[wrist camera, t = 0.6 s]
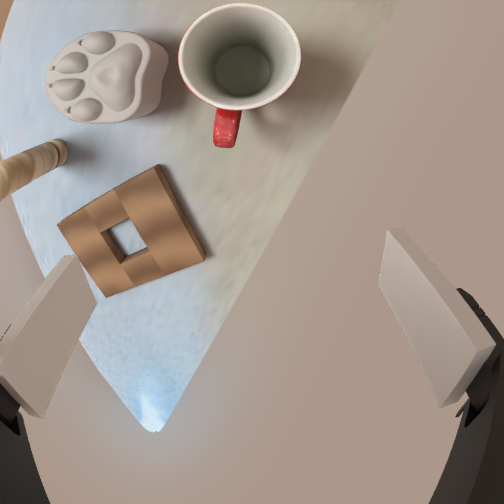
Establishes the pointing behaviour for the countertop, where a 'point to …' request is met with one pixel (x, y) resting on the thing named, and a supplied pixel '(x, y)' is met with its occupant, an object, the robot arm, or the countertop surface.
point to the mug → (238, 62)
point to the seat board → (147, 224)
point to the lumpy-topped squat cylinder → (107, 77)
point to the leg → (30, 165)
